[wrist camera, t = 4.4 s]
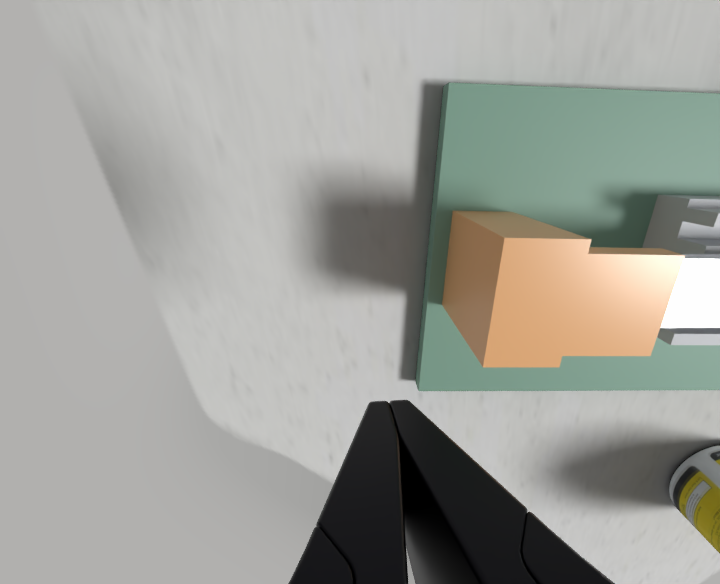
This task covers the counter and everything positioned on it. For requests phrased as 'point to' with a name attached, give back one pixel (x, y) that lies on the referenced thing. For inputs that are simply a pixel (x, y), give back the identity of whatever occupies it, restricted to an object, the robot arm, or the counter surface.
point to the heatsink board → (577, 213)
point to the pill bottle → (700, 492)
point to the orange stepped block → (551, 291)
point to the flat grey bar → (695, 294)
